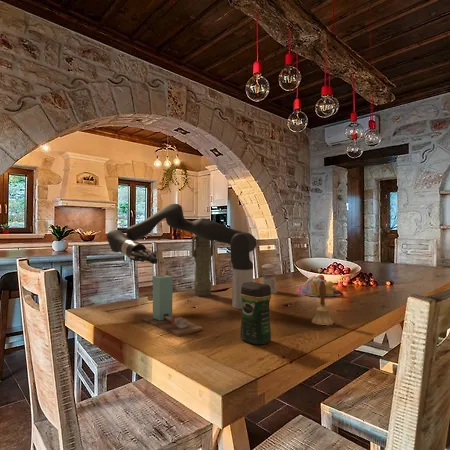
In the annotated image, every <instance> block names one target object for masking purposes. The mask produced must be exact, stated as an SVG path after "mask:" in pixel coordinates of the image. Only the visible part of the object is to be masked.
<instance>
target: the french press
mask: <svg viewBox="0 0 450 450" xmlns="http://www.w3.org/2000/svg"><path fill="white" fill-rule="evenodd" d="M266 248H267V249H271V248H272V247H271V246H267V247H266ZM261 268H262V269H263V272H262V275H261V283H262V284H267V285H269V286H270V289H271V294H276V293H278V291H277V284H276V282H277V277H276V274H275V273H273V272H268V271H265V269H267V270H270V269H276V268H277V266H275V265H274V264H272V263H270V262H268V263H265V264H263V265H262V266H261Z"/></svg>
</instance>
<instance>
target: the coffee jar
mask: <svg viewBox="0 0 450 450" xmlns="http://www.w3.org/2000/svg"><path fill="white" fill-rule="evenodd" d="M271 298H272V293H271V289H270V286H269V285H267V284H262V282H261V283H260V282H255V281H253V282H246V283H243V284H242V287H241V299H242V309H241V323H240V336H239V337H240V339H241V340H242V341H244V342H247V343H250V344H252V345H265V344H268V343H269V342H270V341H271V340H272V334H271V333H272V331H271V318H270V302H271V301H270V300H271Z"/></svg>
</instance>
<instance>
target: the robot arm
mask: <svg viewBox="0 0 450 450" xmlns="http://www.w3.org/2000/svg"><path fill="white" fill-rule="evenodd" d="M163 220H165V221H166V224H167V226H169V227H170V228H173V229H177V230H181V231H184V232H188V233H191V234H193V235H195V236H196V235H198V236H200V237H203V238H205V239H208V240H210V241H211V240H212V241H214V242H215V243H216V242H217V243H224V244H228V245H230V261H231V262H230V263H231V265H232V282H231V283H232V287H231V288H232V291H231V292H232V293H231V294H232V298H231V299H232V301H231V304H232V306H231V307H232V308H233V309H236V310H242V299H241V287H242V284H243V283H246V282H254V263H253V262H252V260H251V257H250V253H251V252H253V251H254V250H255V249H256V248H257V242H258V241H257V239H256V237H255V236H254V235H253V234H252V233H251V232H245V231H241V230H237V229H233V228H232V227H231V228H230V227H228V226H226V225H224V224H221V223H219V222H216V221H215V220H214V221H213V220H211V219H209V218H205V217H201V218H197V219H195V220H188V219H186V218H185V216H184V211H183V207H182V205H180V204H179V203H173V204H169V205H167V206H165V207H163V208H161V209H160V210H159V211H157V212H155V213H154V214H152V215H150V216H149V217H147V218H145V219H144V220H142V221H141V222H138V223H135V224H133V225H130V226H129V227H127V228H126V231H125V232H126V234H125V232H123V231H121V230H119V229H111V230H110V231H109V232H108V233H107V234H106V241H107V242H108V245H109V248H110V250H111V251H112V252H113V253H121V254H123V255H124V256H125V257H127V258H129V260H130V261H134V262H142V263H144V262H147V263H150V264H152V265H154V264H155V265H157V263H158V251H157V250H155V251H153V252H152V251H151V250H148V249H147V247H146V246H145V245H144V244H142V243H140V242H138V240H139V239H141V238H144V237H146V236H148V235H149V234H151V232H152V231H153V230H154V229H155V227H157V226H158V224H160V222H162V221H163Z"/></svg>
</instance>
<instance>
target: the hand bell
mask: <svg viewBox="0 0 450 450" xmlns="http://www.w3.org/2000/svg"><path fill="white" fill-rule="evenodd" d="M319 294H320V296H319V297H320V298H319V299H320V302H319V304H320V305H319V306H318V307H317V308H316V311H315V314H314V317H313V318H312V319H311V321H312V322H313V323H316V324H321V325H329V324H333V322H334V321H333V320H332V318H331V316H330V310H329V308H327V307H326V302H325V300H326V296H325V294H326V286H325V283H324V281H321V282H320V285H319ZM311 321H310V322H311ZM312 322H311V323H312ZM313 323H312V324H313Z"/></svg>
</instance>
